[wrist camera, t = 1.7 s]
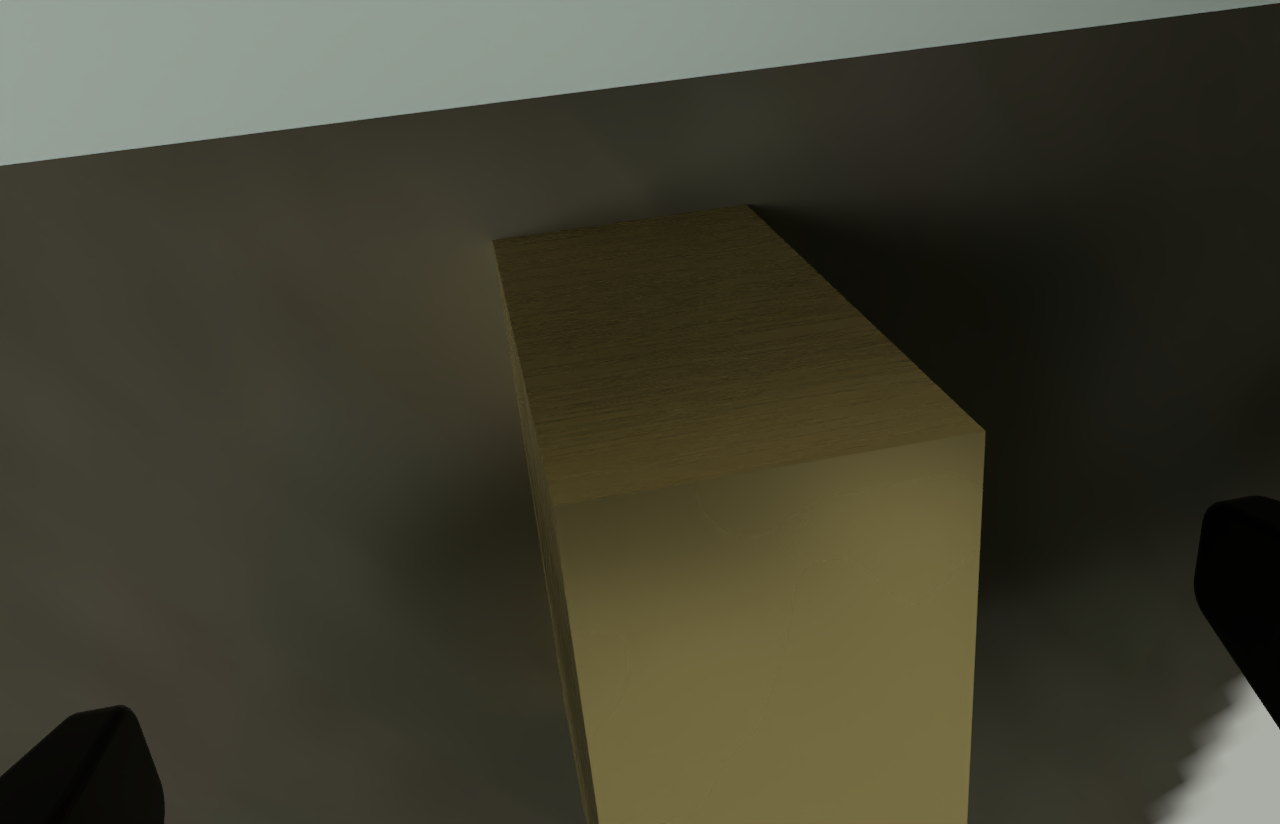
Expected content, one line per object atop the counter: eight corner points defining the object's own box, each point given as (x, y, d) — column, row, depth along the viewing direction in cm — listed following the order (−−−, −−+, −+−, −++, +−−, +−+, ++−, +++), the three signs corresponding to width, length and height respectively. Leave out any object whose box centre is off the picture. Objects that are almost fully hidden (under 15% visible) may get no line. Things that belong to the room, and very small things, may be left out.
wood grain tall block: (769, 666, 13) (955, 1072, 9) (564, 706, 13) (646, 1148, 8) (745, 203, 11) (984, 430, 6) (491, 239, 10) (551, 506, 6)
